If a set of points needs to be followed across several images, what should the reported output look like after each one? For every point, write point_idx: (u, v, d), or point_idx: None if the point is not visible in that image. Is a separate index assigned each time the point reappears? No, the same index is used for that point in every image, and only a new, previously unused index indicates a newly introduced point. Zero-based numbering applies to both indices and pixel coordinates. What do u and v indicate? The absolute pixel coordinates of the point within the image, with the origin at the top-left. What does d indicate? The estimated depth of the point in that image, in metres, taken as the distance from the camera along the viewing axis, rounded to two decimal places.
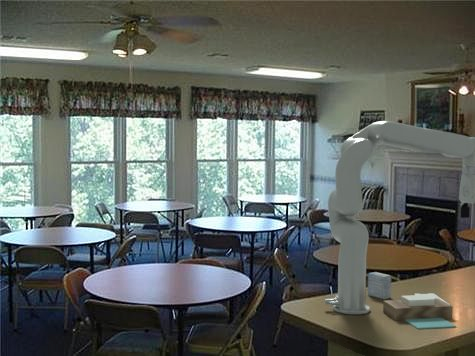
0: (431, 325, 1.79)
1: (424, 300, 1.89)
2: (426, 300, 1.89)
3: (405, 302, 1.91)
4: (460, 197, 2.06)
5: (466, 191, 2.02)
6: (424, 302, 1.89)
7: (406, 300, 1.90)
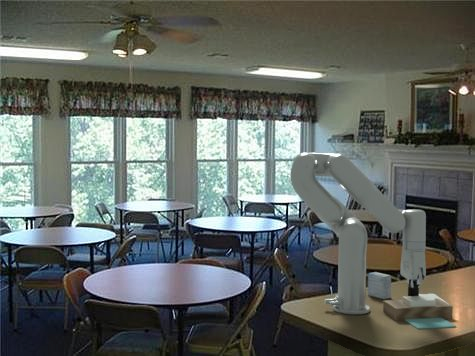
0: (431, 325, 1.79)
1: (426, 301, 1.88)
2: (428, 301, 1.88)
3: (407, 303, 1.90)
4: (401, 271, 1.98)
5: (406, 266, 1.94)
6: (426, 303, 1.88)
7: (408, 301, 1.89)
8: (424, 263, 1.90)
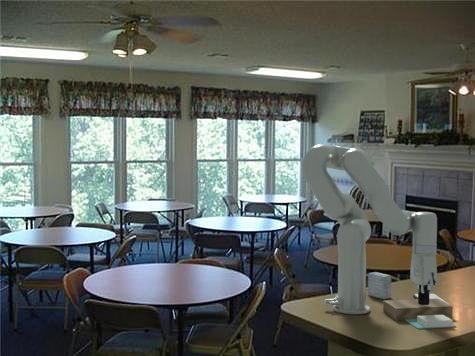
0: None
1: None
2: None
3: (420, 319, 1.80)
4: (411, 276, 1.91)
5: (416, 271, 1.87)
6: None
7: (419, 322, 1.81)
8: (435, 268, 1.83)
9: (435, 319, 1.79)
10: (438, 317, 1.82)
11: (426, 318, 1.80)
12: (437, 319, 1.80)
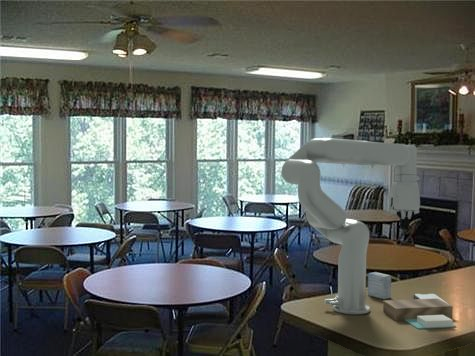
0: None
1: None
2: None
3: (420, 319, 1.80)
4: None
5: None
6: None
7: (419, 322, 1.81)
8: (394, 194, 2.03)
9: (435, 319, 1.79)
10: (438, 317, 1.82)
11: (426, 318, 1.80)
12: (437, 319, 1.80)
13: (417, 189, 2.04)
